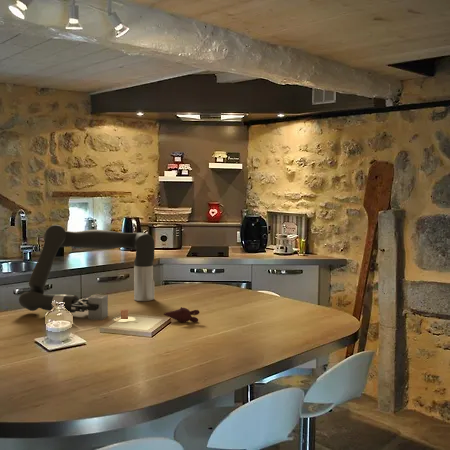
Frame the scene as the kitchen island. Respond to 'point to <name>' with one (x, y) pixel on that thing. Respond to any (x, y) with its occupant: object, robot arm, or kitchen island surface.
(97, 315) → the grey block
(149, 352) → the kitchen island surface
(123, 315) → the peach dome knob
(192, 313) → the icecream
